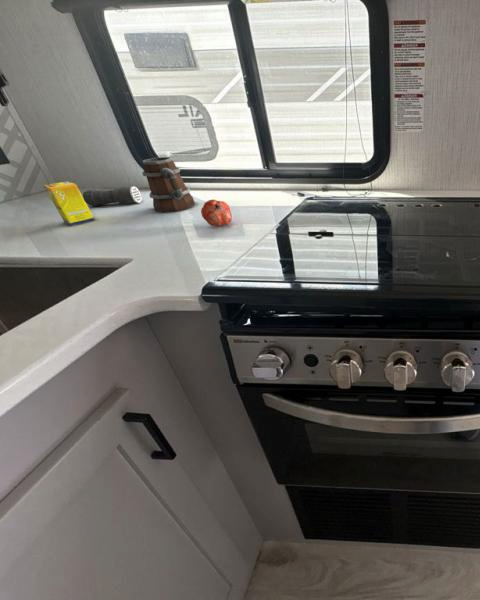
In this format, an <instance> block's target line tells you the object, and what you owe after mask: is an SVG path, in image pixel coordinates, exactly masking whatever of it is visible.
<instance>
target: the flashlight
mask: <svg viewBox="0 0 480 600" xmlns="http://www.w3.org/2000/svg"><path fill="white" fill-rule="evenodd" d="M82 197H83V199H84V201H85V202H86V204H87V206H91V207H100V206H102V205H103V206H104V205H110V204H117V203H118V204H140V203H141V202H142V201H143V199H142V194H141V192H140V190H139V188H137V186H124V187H119V188H117V187H116V188H113V189H108V190H103V189H102V190H101V189H100V190H96V189H89V190H88V189H87V190H85V191H83V193H82Z"/></svg>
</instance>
